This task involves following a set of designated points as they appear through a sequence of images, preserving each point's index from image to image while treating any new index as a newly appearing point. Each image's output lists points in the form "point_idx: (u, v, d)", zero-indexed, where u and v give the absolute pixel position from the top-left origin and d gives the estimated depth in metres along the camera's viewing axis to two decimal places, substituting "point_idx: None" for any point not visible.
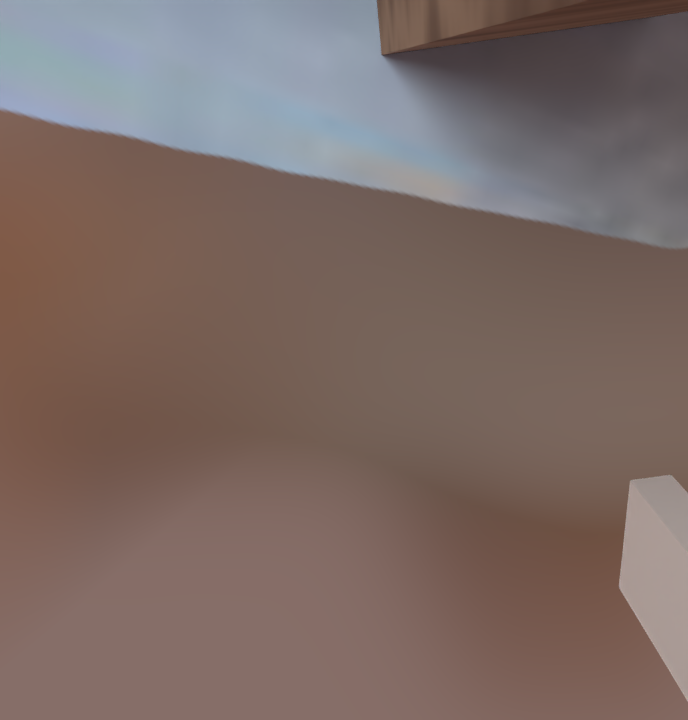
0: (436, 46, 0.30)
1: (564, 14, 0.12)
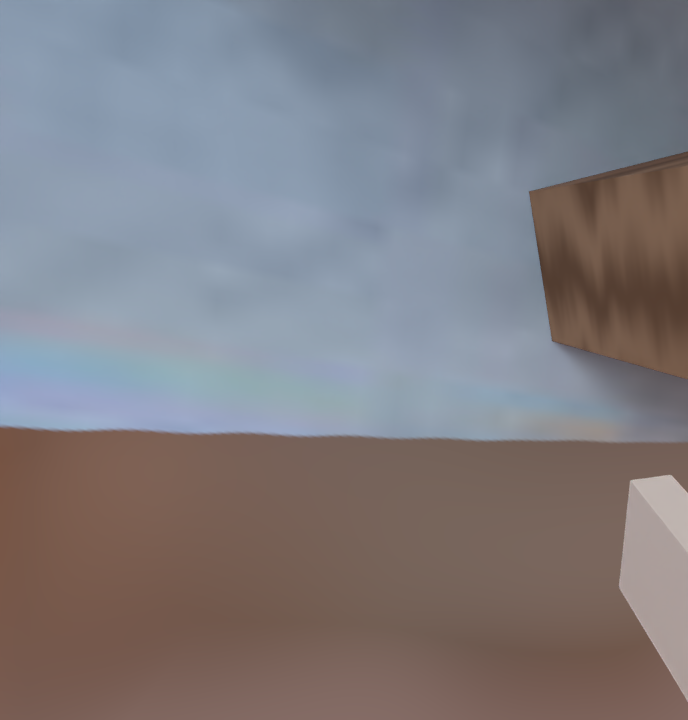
0: None
1: None
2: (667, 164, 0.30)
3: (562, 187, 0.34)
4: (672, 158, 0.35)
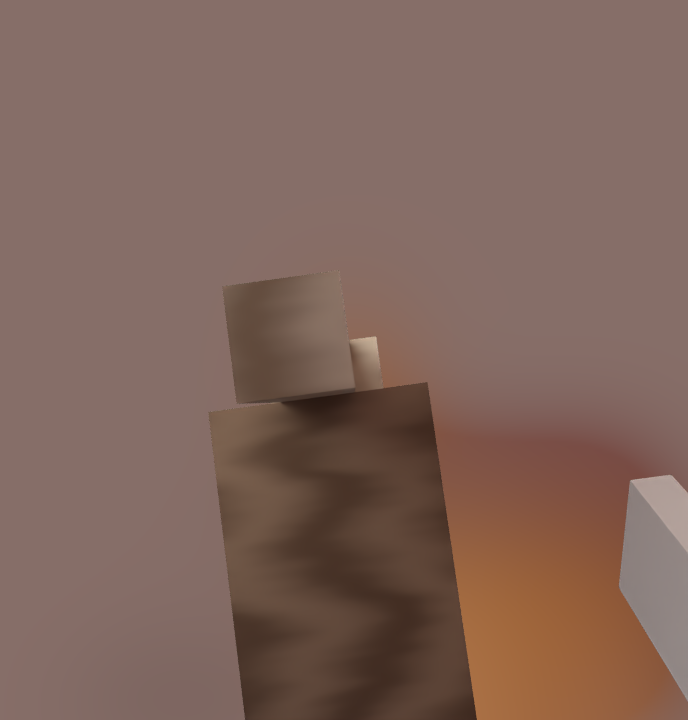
0: None
1: None
2: None
3: None
4: None
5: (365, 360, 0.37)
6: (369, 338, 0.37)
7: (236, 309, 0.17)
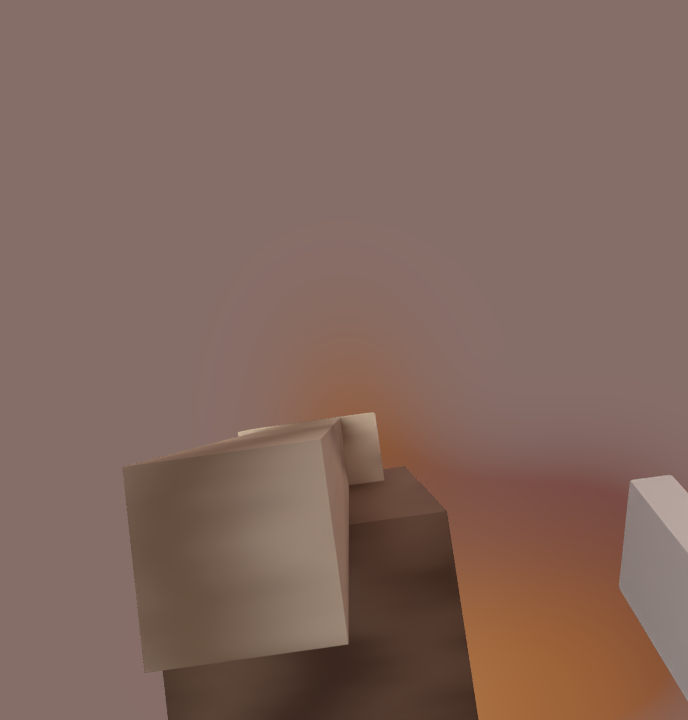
0: None
1: None
2: None
3: None
4: None
5: (361, 442, 0.30)
6: (366, 415, 0.30)
7: (145, 507, 0.10)
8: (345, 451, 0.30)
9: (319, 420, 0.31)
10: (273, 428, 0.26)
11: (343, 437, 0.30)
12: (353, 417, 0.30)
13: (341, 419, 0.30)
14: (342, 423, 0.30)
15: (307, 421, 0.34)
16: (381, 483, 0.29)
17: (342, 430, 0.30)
